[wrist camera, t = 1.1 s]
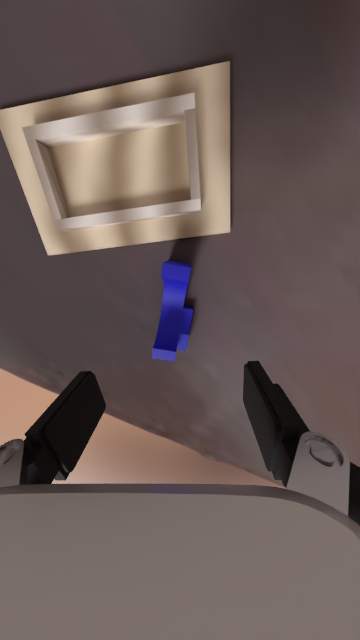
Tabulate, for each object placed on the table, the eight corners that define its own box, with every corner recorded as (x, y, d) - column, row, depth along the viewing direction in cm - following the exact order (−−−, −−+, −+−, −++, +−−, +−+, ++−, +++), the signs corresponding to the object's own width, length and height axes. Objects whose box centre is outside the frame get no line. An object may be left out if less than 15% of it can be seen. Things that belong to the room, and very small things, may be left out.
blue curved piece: (186, 340, 28) (185, 363, 22) (159, 336, 28) (151, 357, 22) (201, 265, 23) (205, 270, 18) (169, 259, 23) (162, 263, 18)
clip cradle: (228, 69, 16) (234, 41, 14) (228, 232, 22) (233, 230, 19) (1, 116, 18) (-25, 98, 16) (52, 255, 24) (38, 255, 21)
